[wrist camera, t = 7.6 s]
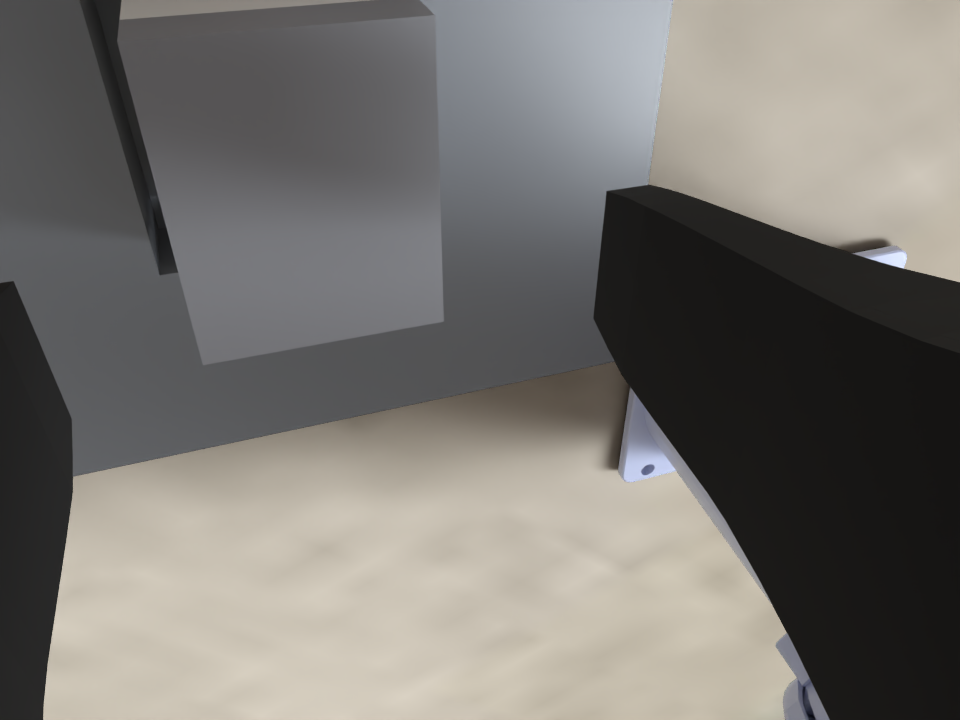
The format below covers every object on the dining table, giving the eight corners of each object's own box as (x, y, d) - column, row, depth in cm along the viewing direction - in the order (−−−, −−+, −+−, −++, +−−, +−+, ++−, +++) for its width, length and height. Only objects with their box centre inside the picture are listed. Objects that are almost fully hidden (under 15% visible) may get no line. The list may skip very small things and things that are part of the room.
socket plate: (646, -471, 14) (774, -523, 11) (579, 300, 24) (637, 377, 21) (-508, -544, 10) (-772, -659, 7) (-16, 413, 20) (-44, 526, 17)
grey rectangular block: (351, -67, 15) (435, 15, 11) (371, 177, 18) (443, 321, 14) (128, -55, 14) (117, 41, 10) (189, 201, 17) (203, 365, 13)
